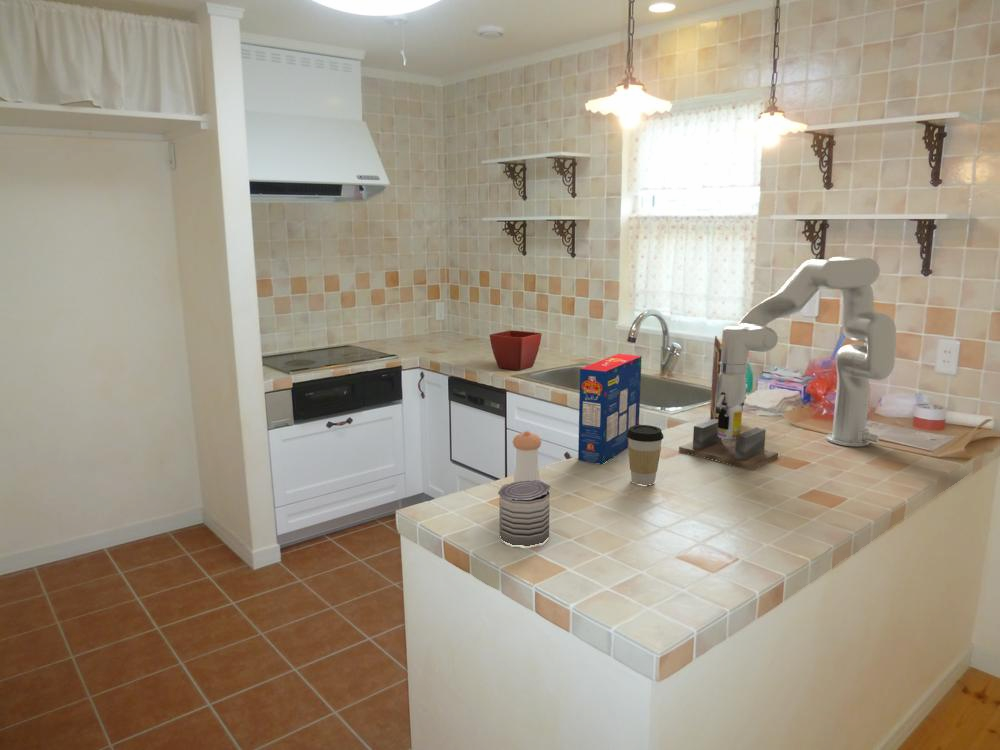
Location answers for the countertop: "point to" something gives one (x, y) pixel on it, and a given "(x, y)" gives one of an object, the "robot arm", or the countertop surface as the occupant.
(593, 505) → the countertop surface
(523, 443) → the pepper shaker
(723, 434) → the supplement bottle
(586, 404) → the blue cereal box
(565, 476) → the countertop surface
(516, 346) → the plant pot
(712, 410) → the decorative book
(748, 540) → the countertop surface
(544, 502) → the can
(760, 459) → the stand
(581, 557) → the countertop surface
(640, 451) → the coffee cup
